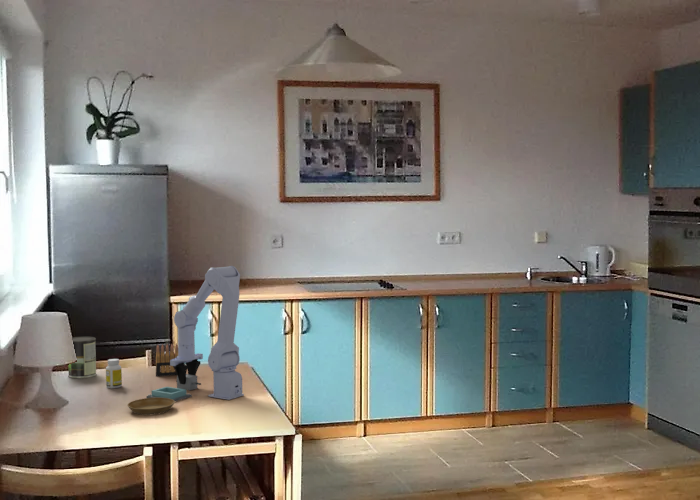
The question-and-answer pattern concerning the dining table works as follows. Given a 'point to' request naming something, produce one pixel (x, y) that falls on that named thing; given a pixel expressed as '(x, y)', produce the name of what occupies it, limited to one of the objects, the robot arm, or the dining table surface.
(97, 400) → the dining table surface
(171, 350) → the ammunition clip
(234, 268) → the robot arm
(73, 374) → the coffee can
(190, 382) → the block
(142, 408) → the plant saucer
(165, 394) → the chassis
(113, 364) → the supplement bottle
